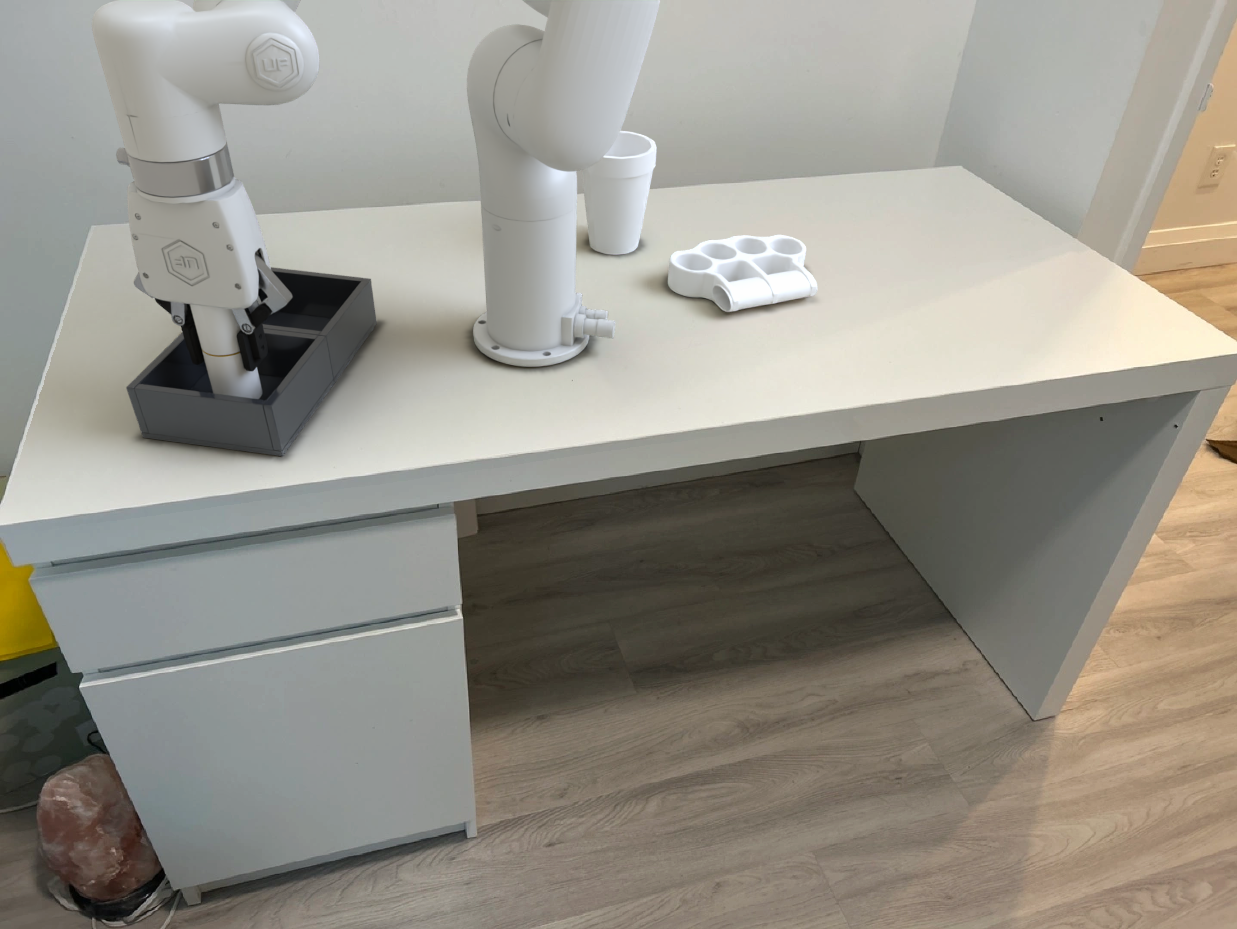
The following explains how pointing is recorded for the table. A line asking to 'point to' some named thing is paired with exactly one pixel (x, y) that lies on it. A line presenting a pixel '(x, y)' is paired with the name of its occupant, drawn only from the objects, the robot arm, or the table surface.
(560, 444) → the table surface
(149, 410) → the left basin
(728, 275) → the knuckle duster
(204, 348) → the tube
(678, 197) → the table surface
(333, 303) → the right basin
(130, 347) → the table surface
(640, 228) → the foam cup
